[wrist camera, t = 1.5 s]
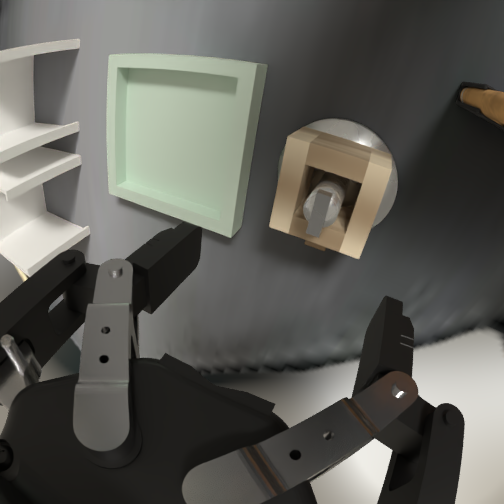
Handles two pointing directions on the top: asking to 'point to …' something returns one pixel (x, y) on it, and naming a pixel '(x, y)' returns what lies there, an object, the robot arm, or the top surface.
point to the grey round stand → (342, 178)
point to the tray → (183, 134)
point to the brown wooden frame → (338, 162)
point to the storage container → (30, 165)
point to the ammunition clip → (482, 102)
